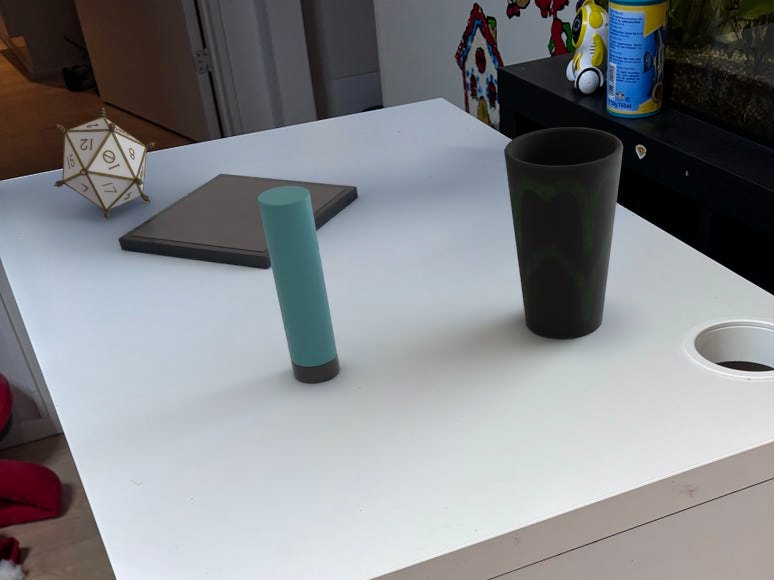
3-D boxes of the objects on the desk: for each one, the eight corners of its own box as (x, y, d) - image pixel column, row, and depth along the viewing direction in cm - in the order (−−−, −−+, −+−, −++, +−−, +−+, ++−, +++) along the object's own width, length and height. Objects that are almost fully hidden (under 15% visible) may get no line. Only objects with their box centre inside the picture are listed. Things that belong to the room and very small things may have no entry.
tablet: (121, 249, 89) (117, 237, 88) (222, 183, 99) (220, 172, 98) (267, 268, 84) (265, 256, 83) (358, 197, 94) (356, 185, 94)
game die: (128, 239, 100) (125, 132, 99) (174, 223, 94) (172, 109, 93) (37, 218, 93) (33, 104, 92) (81, 200, 88) (77, 77, 87)
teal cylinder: (285, 379, 70) (247, 202, 62) (308, 357, 72) (275, 183, 64) (325, 386, 69) (292, 206, 61) (347, 364, 71) (318, 187, 63)
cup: (627, 302, 76) (635, 129, 67) (602, 351, 70) (607, 170, 62) (528, 292, 78) (523, 124, 69) (497, 339, 73) (488, 163, 64)
